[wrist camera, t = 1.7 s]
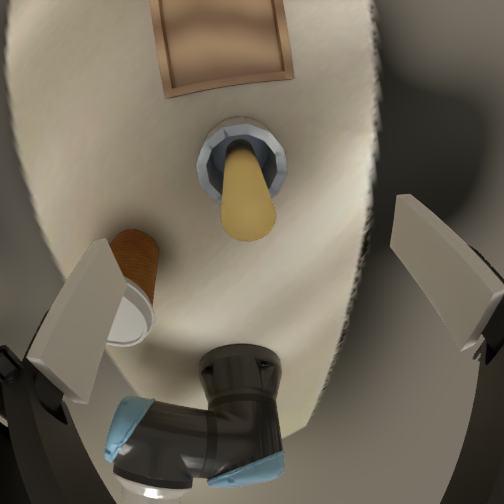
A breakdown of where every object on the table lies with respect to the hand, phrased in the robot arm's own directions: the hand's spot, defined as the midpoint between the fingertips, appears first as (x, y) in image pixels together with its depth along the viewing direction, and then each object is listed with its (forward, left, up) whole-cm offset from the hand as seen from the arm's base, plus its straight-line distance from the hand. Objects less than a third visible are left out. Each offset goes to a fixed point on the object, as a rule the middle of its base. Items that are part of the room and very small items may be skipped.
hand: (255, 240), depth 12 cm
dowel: (0, 0, -18) cm, 18 cm away
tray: (+14, 0, -19) cm, 23 cm away
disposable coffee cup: (-10, +15, -19) cm, 26 cm away
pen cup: (0, 0, -19) cm, 19 cm away
